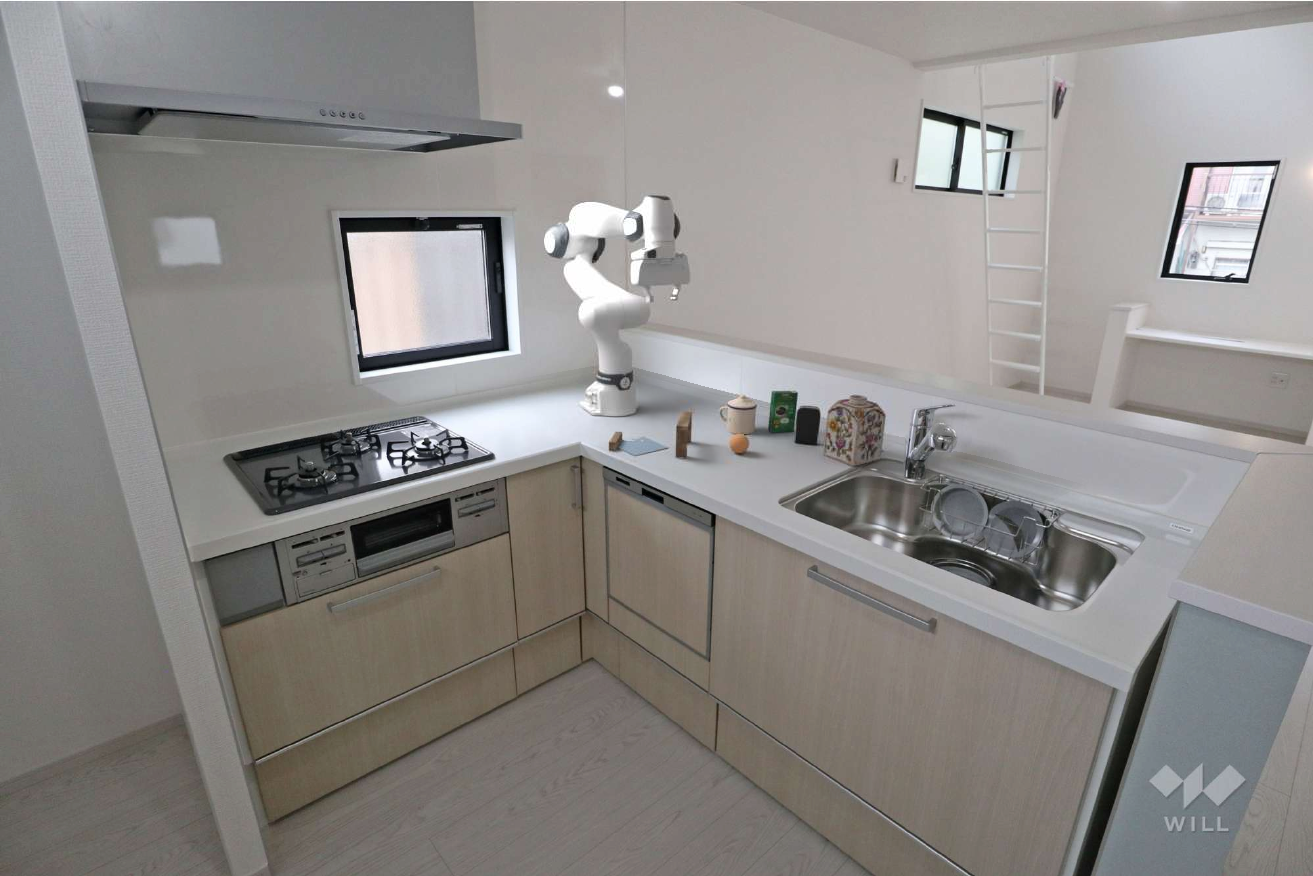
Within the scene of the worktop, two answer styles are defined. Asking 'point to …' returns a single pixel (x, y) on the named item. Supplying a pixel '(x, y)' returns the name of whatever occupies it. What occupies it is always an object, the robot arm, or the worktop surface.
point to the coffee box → (782, 411)
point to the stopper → (615, 441)
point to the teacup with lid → (740, 415)
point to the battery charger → (807, 425)
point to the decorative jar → (854, 431)
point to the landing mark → (640, 446)
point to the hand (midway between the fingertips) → (662, 301)
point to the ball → (739, 443)
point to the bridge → (683, 433)
